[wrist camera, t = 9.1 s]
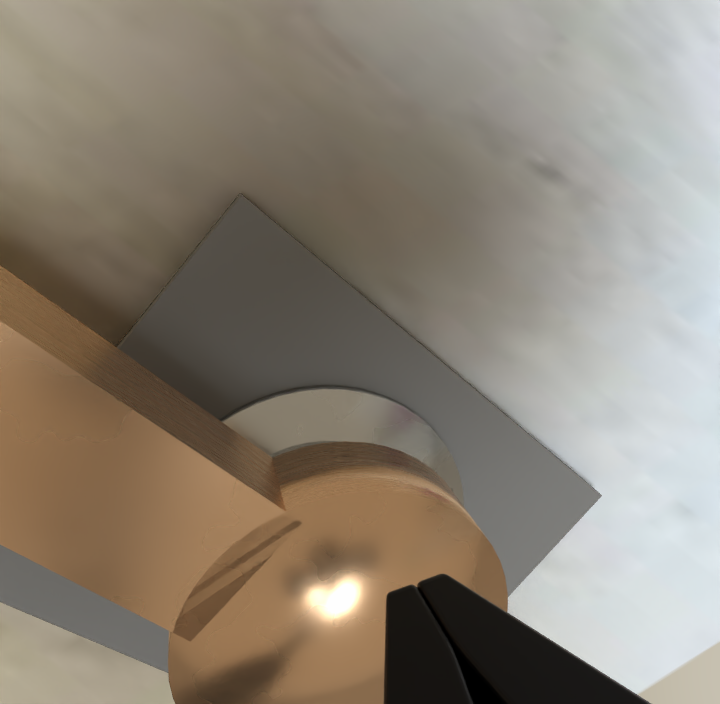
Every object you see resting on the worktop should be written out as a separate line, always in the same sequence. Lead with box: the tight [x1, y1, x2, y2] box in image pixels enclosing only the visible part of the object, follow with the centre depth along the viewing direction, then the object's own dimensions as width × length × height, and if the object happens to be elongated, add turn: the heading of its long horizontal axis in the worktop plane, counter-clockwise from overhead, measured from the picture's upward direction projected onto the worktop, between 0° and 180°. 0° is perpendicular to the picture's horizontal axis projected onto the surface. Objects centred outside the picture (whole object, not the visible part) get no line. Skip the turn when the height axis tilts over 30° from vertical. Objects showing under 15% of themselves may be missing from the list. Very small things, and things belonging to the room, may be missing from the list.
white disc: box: [219, 385, 464, 506], centre depth 20 cm, size 10×10×2 cm
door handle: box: [0, 265, 508, 704], centre depth 15 cm, size 18×9×3 cm, turn 46°
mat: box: [0, 194, 602, 673], centre depth 21 cm, size 14×17×1 cm
